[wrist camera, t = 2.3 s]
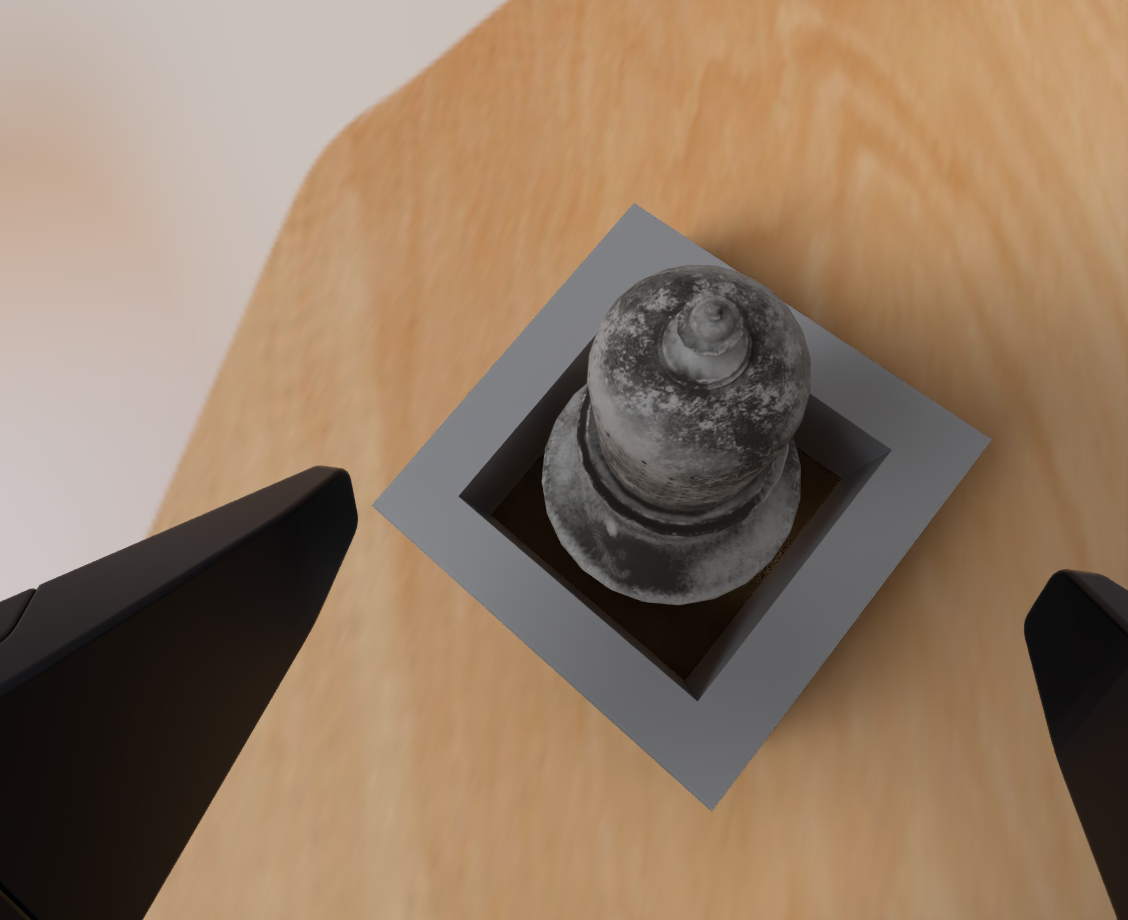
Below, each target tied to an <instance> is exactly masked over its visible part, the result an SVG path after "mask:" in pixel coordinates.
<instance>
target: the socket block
mask: <svg viewBox="0 0 1128 920" xmlns="http://www.w3.org/2000/svg"><path fill="white" fill-rule="evenodd" d="M685 265H711V266H719V267H723V268H726V269H730V270H733V271H736V270H735V269H733V268H732V267H730V266H729V265H727V264H726V263H724V262H723V261H721V260H720V259H718V258H717V257H715V256H713V255H712V254H710V253H709V252H707V251H706V250H704V249H703V248H701V247H700V246H698V245H697V244H695V243H694V242H692V241H691V240H689V239H688V238H686V237H685V236H683V235H682V234H680V233H679V232H677V231H676V230H674V229H673V228H671V227H670V226H668V225H667V224H665V223H664V222H662V221H661V220H659V219H657V218H656V217H654V216H653V215H651V214H650V213H648V212H647V211H645V210H644V209H642V208H641V207H639V206H638V205H636V204H635V203H634V204H633V205H632V206H631V207H630V208H629V209H628V210H627V212H626V213H625V214H624V215H623V216H622V217H621V219H620V220H619V221H618V222H617V223H616V224H615V225H614V227H613V228H612V229H611V230H610V231H609V232H608V234H607V235H606V236H605V237H604V238H603V239H602V240H601V242H600V243H599V244H598V245H597V246H596V247H595V249H594V250H593V251H592V252H591V253H590V254H589V255H588V257H587V258H586V259H585V260H584V261H583V262H582V264H581V265H580V266H579V267H578V268H577V269H576V270H575V272H574V273H573V274H572V275H571V276H570V277H569V279H568V280H567V281H566V282H565V283H564V284H563V285H562V287H561V288H560V289H559V290H558V291H557V292H556V294H555V295H554V296H553V297H552V298H551V299H550V300H549V302H548V303H547V304H546V305H545V306H544V307H543V309H542V310H541V311H540V312H539V313H538V314H537V315H536V317H535V318H534V319H533V320H532V321H531V322H530V324H529V325H528V326H527V327H526V328H525V329H524V330H523V332H522V333H521V334H520V335H519V336H518V337H517V339H516V340H515V341H514V342H513V343H512V344H511V345H510V347H509V348H508V349H507V350H506V351H505V352H504V354H503V355H502V356H501V357H500V358H499V359H498V360H497V362H496V363H495V364H494V365H493V366H492V367H491V369H490V370H489V371H488V372H487V373H486V374H485V375H484V377H483V378H482V379H481V380H480V381H479V382H478V384H477V385H476V386H475V387H474V388H473V389H472V390H471V392H470V393H469V394H468V395H467V396H466V397H465V399H464V400H463V401H462V402H461V403H460V404H459V405H458V407H457V408H456V409H455V410H454V411H453V412H452V414H451V415H450V416H449V417H448V418H447V419H446V420H445V422H444V423H443V424H442V425H441V426H440V427H439V429H438V430H437V431H436V432H435V433H434V434H433V435H432V437H431V438H430V439H429V440H428V441H427V442H426V443H425V445H424V446H423V447H422V448H421V449H420V450H419V452H418V453H417V454H416V455H415V456H414V457H413V458H412V460H411V461H410V462H409V463H408V464H407V465H406V467H405V468H404V469H403V470H402V471H401V472H400V473H399V475H398V476H397V477H396V478H395V479H394V480H393V482H392V483H391V484H390V485H389V486H388V487H387V488H386V490H385V491H384V492H383V493H382V494H381V495H380V497H379V498H378V499H377V500H376V501H375V502H374V503H373V505H372V506H373V507H374V508H375V509H376V510H377V511H378V512H380V513H381V514H382V515H383V516H384V517H385V518H386V519H387V520H388V521H390V522H391V523H392V524H393V525H394V526H395V527H396V528H397V529H398V530H400V531H401V532H402V533H403V534H404V535H405V536H406V537H407V538H408V539H410V540H411V541H412V542H413V543H414V544H415V545H416V546H417V547H418V548H420V549H421V550H422V551H423V552H424V553H425V554H426V555H427V556H428V557H430V558H431V559H432V560H433V561H434V562H435V563H436V564H437V565H438V566H440V567H441V568H442V569H443V570H444V571H445V572H446V573H447V574H448V575H450V576H451V577H452V578H453V579H454V580H455V581H456V582H457V583H458V584H460V585H461V586H462V587H463V588H464V589H465V590H466V591H467V592H468V593H470V594H471V595H472V596H473V597H474V598H475V599H476V600H477V601H478V602H479V603H481V604H482V605H483V606H484V607H485V608H486V609H487V610H488V611H489V612H491V613H492V614H493V615H494V616H495V617H496V618H497V619H498V620H499V621H501V622H502V623H503V624H504V625H505V626H506V627H507V628H508V629H509V630H511V631H512V632H513V633H514V634H515V635H516V636H517V637H518V638H519V639H521V640H522V641H523V642H524V643H525V644H526V645H527V646H528V647H529V648H531V649H532V650H533V651H534V652H535V653H536V654H537V655H538V656H539V657H541V658H542V659H543V660H544V661H545V662H546V663H547V664H548V665H549V666H551V667H552V668H553V669H554V670H555V671H556V672H557V673H558V674H559V675H561V676H562V677H563V678H564V679H565V680H566V681H567V682H568V683H569V684H571V685H572V686H573V687H574V688H575V689H576V690H577V691H578V692H579V693H581V694H582V695H583V696H584V697H585V698H586V699H587V700H588V701H589V702H591V703H592V704H593V705H594V706H595V707H596V708H597V709H598V710H599V711H601V712H602V713H603V714H604V715H605V716H606V717H607V718H608V719H609V720H611V721H612V722H613V723H614V724H615V725H616V726H617V727H618V728H619V729H621V730H622V731H623V732H624V733H625V734H626V735H627V736H628V737H629V738H631V739H632V740H633V741H634V742H635V743H636V744H637V745H638V746H639V747H641V748H642V749H643V750H644V751H645V752H646V753H647V754H648V755H649V756H651V757H652V758H653V759H654V760H655V761H656V762H657V763H658V764H659V765H661V766H662V767H663V768H664V769H665V770H666V771H667V772H668V773H669V774H671V775H672V776H673V777H674V778H675V779H676V780H677V781H678V782H679V783H681V784H682V785H683V786H684V787H685V788H686V789H687V790H688V791H689V792H691V793H692V794H693V795H694V796H695V797H696V798H697V799H698V800H699V801H701V802H702V803H703V804H704V805H705V806H706V807H707V808H708V809H709V810H711V811H712V810H713V809H714V808H715V806H716V805H717V804H718V802H719V801H720V800H721V798H722V797H723V796H724V794H725V793H726V792H727V790H728V789H729V788H730V786H731V785H732V784H733V783H734V781H735V780H736V779H737V777H738V776H739V775H740V773H741V772H742V771H743V769H744V768H745V767H746V765H747V764H748V763H749V761H750V760H751V759H752V757H753V756H754V755H755V753H756V752H757V751H758V749H759V748H760V747H761V745H762V744H763V743H764V741H765V740H766V739H767V737H768V736H769V735H770V733H771V732H772V731H773V729H774V728H775V727H776V725H777V724H778V723H779V721H780V720H781V719H782V717H783V716H784V715H785V713H786V712H787V711H788V709H789V708H790V707H791V705H792V704H793V703H794V702H795V700H796V699H797V698H798V696H799V695H800V694H801V692H802V691H803V690H804V688H805V687H806V686H807V684H808V683H809V682H810V680H811V679H812V678H813V676H814V675H815V674H816V672H817V671H818V670H819V668H820V667H821V666H822V664H823V663H824V662H825V660H826V659H827V658H828V656H829V655H830V654H831V652H832V651H833V650H834V648H835V647H836V646H837V644H838V643H839V642H840V640H841V639H842V638H843V636H844V635H845V634H846V632H847V631H848V630H849V628H850V627H851V626H852V624H853V623H854V622H855V621H856V619H857V618H858V617H859V615H860V614H861V613H862V611H863V610H864V609H865V607H866V606H867V605H868V603H869V602H870V601H871V599H872V598H873V597H874V595H875V594H876V593H877V591H878V590H879V589H880V587H881V586H882V585H883V583H884V582H885V581H886V579H887V578H888V577H889V575H890V574H891V573H892V571H893V570H894V569H895V567H896V566H897V565H898V563H899V562H900V561H901V559H902V558H903V557H904V555H905V554H906V553H907V551H908V550H909V549H910V547H911V546H912V545H913V543H914V542H915V541H916V540H917V538H918V537H919V536H920V534H921V533H922V532H923V530H924V529H925V528H926V526H927V525H928V524H929V522H930V521H931V520H932V518H933V517H934V516H935V514H936V513H937V512H938V510H939V509H940V508H941V506H942V505H943V504H944V502H945V501H946V500H947V498H948V497H949V496H950V494H951V493H952V492H953V490H954V489H955V488H956V486H957V485H958V484H959V482H960V481H961V480H962V478H963V477H964V476H965V474H966V473H967V472H968V470H969V469H970V468H971V466H972V465H973V464H974V462H975V461H976V460H977V459H978V457H979V456H980V455H981V453H982V452H983V451H984V449H985V448H986V447H987V445H988V444H989V443H990V441H991V440H992V439H991V438H989V437H988V436H986V435H984V434H983V433H981V432H980V431H978V430H977V429H975V428H974V427H972V426H971V425H969V424H968V423H966V422H965V421H963V420H962V419H960V418H959V417H957V416H956V415H954V414H953V413H951V412H950V411H948V410H947V409H945V408H944V407H942V406H941V405H939V404H938V403H936V402H935V401H933V400H932V399H930V398H928V397H927V396H925V395H924V394H922V393H921V392H919V391H918V390H916V389H915V388H913V387H912V386H910V385H909V384H907V383H906V382H904V381H903V380H901V379H900V378H898V377H897V376H895V375H894V374H892V373H891V372H889V371H888V370H886V369H885V368H883V367H882V366H880V365H879V364H877V363H875V362H874V361H872V360H871V359H869V358H868V357H866V356H865V355H863V354H862V353H860V352H859V351H857V350H856V349H854V348H853V347H851V346H850V345H848V344H847V343H845V342H844V341H842V340H841V339H839V338H838V337H836V336H835V335H833V334H832V333H830V332H829V331H827V330H826V329H824V328H823V327H821V326H819V325H818V324H816V323H815V322H813V321H812V320H810V319H809V318H807V317H806V316H804V315H803V314H801V313H800V312H798V311H797V310H795V309H794V308H792V307H791V306H789V305H788V304H786V303H785V302H784V303H785V304H786V305H787V306H788V307H789V309H790V310H791V312H792V314H793V315H794V317H795V319H796V320H797V322H798V323H799V325H800V327H801V328H802V330H803V333H804V336H805V340H806V343H807V346H808V350H809V353H810V357H811V388H810V395H809V398H808V402H807V405H806V409H805V412H804V416H803V419H802V422H801V424H800V425H799V427H798V428H797V430H796V432H795V433H794V435H793V439H794V442H795V446H796V447H798V448H799V449H800V450H802V451H803V452H805V453H806V454H807V455H809V456H810V457H811V458H813V459H814V460H816V461H817V462H818V463H820V464H821V465H823V466H824V467H825V468H827V469H828V470H830V471H831V472H832V473H834V474H835V475H837V476H838V477H839V478H841V480H840V482H839V483H838V484H837V485H836V487H835V488H834V489H833V491H832V492H831V493H830V494H829V496H828V497H827V498H826V500H825V501H824V502H823V503H822V505H821V506H820V507H819V509H818V510H817V511H816V512H815V514H814V515H813V516H812V518H811V519H810V520H809V521H808V523H807V524H806V525H805V527H804V528H803V529H802V530H801V532H800V533H799V534H798V536H797V537H796V538H795V539H794V541H793V542H792V543H791V545H790V546H789V547H788V548H787V550H786V551H785V552H784V554H783V555H782V556H781V557H780V559H779V560H778V561H777V563H776V564H775V565H774V566H773V568H772V569H771V570H770V572H769V573H768V574H767V575H766V577H765V578H764V579H763V581H762V582H761V583H760V584H759V586H758V587H757V588H756V590H755V591H754V592H753V593H752V595H751V596H750V597H749V599H748V600H747V601H746V602H745V604H744V605H743V606H742V608H741V609H740V610H739V611H738V613H737V614H736V615H735V617H734V618H733V619H732V620H731V622H730V623H729V624H728V626H727V627H726V628H725V629H724V631H723V632H722V633H721V635H720V636H719V637H718V638H717V640H716V641H715V642H714V644H713V645H712V646H711V647H710V649H709V650H708V651H707V653H706V654H705V655H704V656H703V658H702V659H701V660H700V662H699V663H698V664H697V665H696V667H695V668H694V669H693V671H692V672H691V673H690V675H689V676H688V677H687V678H686V680H683V679H682V678H681V677H680V676H679V675H678V674H676V673H675V672H674V671H673V670H672V669H671V668H669V667H668V666H667V665H666V664H665V663H664V662H662V661H661V660H660V659H659V658H658V657H656V656H655V655H654V654H653V653H652V652H651V651H649V650H648V649H647V648H646V647H645V646H644V645H642V644H641V643H640V642H639V641H638V640H637V639H635V638H634V637H633V636H632V635H631V634H630V633H628V632H627V631H626V630H625V629H624V628H623V627H621V626H620V625H619V624H618V623H617V622H616V621H614V620H613V619H612V618H611V617H610V616H608V615H607V614H606V613H605V612H604V611H603V610H601V609H600V608H599V607H598V606H597V605H596V604H594V603H593V602H592V601H591V600H590V599H589V598H587V597H586V596H585V595H584V594H583V593H582V592H580V591H579V590H578V589H577V588H576V587H575V586H573V585H572V584H571V583H570V582H569V581H567V580H566V579H565V578H564V577H563V576H562V575H560V574H559V573H558V572H557V571H556V570H555V569H553V568H552V567H551V566H550V565H549V564H548V563H546V562H545V561H544V560H543V559H542V558H541V557H539V556H538V555H537V554H536V553H535V552H534V551H532V550H531V549H530V548H529V547H528V546H526V545H525V544H524V543H523V542H522V541H521V540H519V539H518V538H517V537H516V536H515V535H514V534H512V533H511V532H510V531H509V530H508V529H507V528H505V527H504V526H503V525H502V524H501V523H500V522H498V521H497V520H496V519H495V518H494V517H493V516H491V515H492V513H493V512H494V511H495V510H496V509H497V508H498V506H499V505H500V504H501V503H502V502H503V500H504V499H505V498H506V497H507V496H508V494H509V493H510V492H511V491H512V490H513V489H514V487H515V486H516V485H517V484H518V483H519V481H520V480H521V479H522V478H523V477H524V475H525V474H526V473H527V472H528V471H529V470H530V468H531V467H532V466H533V465H534V464H535V462H536V461H537V460H538V459H539V458H540V456H541V455H542V454H543V453H544V452H545V448H546V445H547V443H548V440H549V437H550V435H551V432H552V429H553V427H554V424H555V421H556V419H557V418H558V416H559V415H560V414H561V412H562V411H563V409H564V408H565V407H566V405H567V404H568V402H569V401H570V400H571V398H572V397H573V395H574V394H575V393H576V392H577V391H579V390H580V389H581V388H582V387H583V386H585V385H586V384H587V376H588V362H589V353H590V350H591V348H592V345H593V342H594V339H595V336H596V334H597V331H598V328H599V326H600V323H601V321H602V320H603V318H604V317H605V315H606V314H607V313H608V311H609V310H610V308H611V307H612V305H613V304H614V303H615V301H616V300H617V299H618V298H619V297H620V296H621V295H623V294H624V293H625V292H626V291H627V290H628V289H630V288H631V287H632V286H633V285H634V284H636V283H637V282H639V281H641V280H643V279H645V278H647V277H649V276H651V275H653V274H655V273H657V272H659V271H661V270H666V269H671V268H675V267H680V266H685ZM737 272H738V271H737Z"/></svg>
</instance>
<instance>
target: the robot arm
mask: <svg viewBox="0 0 1128 920" xmlns="http://www.w3.org/2000/svg"><path fill="white" fill-rule="evenodd" d="M357 524H358V514H357V508H356V503H355V498H354V493H353V488H352V482H351V478H350V475H349V474H348V472H347V471H346V470H344V469H342V468H335V467H328V466H315V467H312V468H310V469H307V470H305V471H303V472H300V473H298V474H296V475H293V476H291V477H289V478H286V479H284V480H282V481H280V482H277V483H275V484H273V485H270V486H268V487H266V488H263V489H261V490H259V491H256V492H254V493H252V494H249V495H247V496H245V497H242V498H240V499H238V500H235V501H233V502H231V503H228V504H226V505H224V506H222V507H219V508H217V509H215V510H212V511H210V512H208V513H205V514H203V515H201V516H198V517H196V518H194V519H191V520H189V521H187V522H184V523H182V524H180V525H177V526H175V527H173V528H170V529H168V530H166V531H164V532H161V533H159V534H157V535H154V536H152V537H150V538H147V539H145V540H143V541H140V542H138V543H136V544H133V545H131V546H129V547H127V548H124V549H122V550H120V551H117V552H115V553H113V554H110V555H108V556H106V557H103V558H101V559H99V560H96V561H94V562H92V563H90V564H87V565H85V566H83V567H80V568H78V569H75V570H73V571H71V572H69V573H66V574H64V575H61V576H59V577H57V578H55V579H52V580H50V581H48V582H45V583H43V584H41V585H39V587H38V588H37V589H29V590H26V591H24V592H22V593H19V594H17V595H15V596H13V597H10V598H8V599H6V600H3V601H1V602H0V920H143V919H144V917H145V915H146V913H147V912H148V910H149V908H150V907H151V905H152V903H153V901H154V900H155V898H156V896H157V895H158V893H159V891H160V889H161V888H162V886H163V884H164V883H165V881H166V879H167V877H168V876H169V874H170V872H171V870H172V869H173V867H174V865H175V864H176V862H177V860H178V858H179V857H180V855H181V853H182V852H183V850H184V848H185V846H186V845H187V843H188V841H189V840H190V838H191V836H192V834H193V833H194V831H195V829H196V828H197V826H198V824H199V822H200V821H201V819H202V817H203V816H204V814H205V812H206V810H207V809H208V807H209V805H210V803H211V802H212V800H213V798H214V797H215V795H216V793H217V791H218V790H219V788H220V786H221V785H222V783H223V781H224V779H225V778H226V776H227V774H228V773H229V771H230V769H231V767H232V766H233V764H234V762H235V761H236V759H237V757H238V755H239V754H240V752H241V750H242V748H243V747H244V745H245V743H246V742H247V740H248V738H249V736H250V735H251V733H252V731H253V730H254V728H255V726H256V724H257V723H258V721H259V719H260V718H261V716H262V714H263V712H264V711H265V709H266V707H267V706H268V704H269V702H270V700H271V699H272V697H273V695H274V694H275V692H276V690H277V688H278V687H279V685H280V683H281V681H282V680H283V678H284V676H285V675H286V673H287V671H288V669H289V668H290V666H291V664H292V663H293V661H294V659H295V657H296V656H297V654H298V652H299V651H300V649H301V647H302V645H303V644H304V642H305V640H306V638H307V637H308V635H309V633H310V631H311V629H312V628H313V626H314V624H315V622H316V620H317V618H318V616H319V614H320V611H321V609H322V607H323V605H324V603H325V600H326V598H327V596H328V594H329V591H330V589H331V587H332V585H333V582H334V580H335V578H336V575H337V573H338V571H339V569H340V566H341V564H342V562H343V560H344V557H345V555H346V553H347V551H348V548H349V546H350V544H351V542H352V539H353V537H354V535H355V532H356V529H357ZM1024 635H1025V640H1026V644H1027V648H1028V652H1029V656H1030V660H1031V663H1032V667H1033V671H1034V675H1035V679H1036V683H1037V687H1038V691H1039V695H1040V699H1041V702H1042V706H1043V710H1044V714H1045V718H1046V722H1047V726H1048V730H1049V734H1050V737H1051V741H1052V744H1053V747H1054V751H1055V754H1056V757H1057V760H1058V763H1059V766H1060V769H1061V772H1062V774H1063V777H1064V780H1065V783H1066V785H1067V788H1068V790H1069V793H1070V796H1071V798H1072V801H1073V804H1074V806H1075V809H1076V812H1077V814H1078V817H1079V820H1080V822H1081V825H1082V827H1083V830H1084V833H1085V835H1086V838H1087V841H1088V843H1089V846H1090V849H1091V851H1092V854H1093V856H1094V859H1095V862H1096V864H1097V867H1098V870H1099V872H1100V875H1101V878H1102V880H1103V883H1104V886H1105V888H1106V891H1107V893H1108V896H1109V899H1110V901H1111V904H1112V907H1113V909H1114V912H1115V915H1116V917H1117V920H1128V591H1127V590H1126V589H1124V588H1123V587H1121V586H1120V585H1118V584H1116V583H1115V582H1113V581H1112V580H1110V579H1109V578H1107V577H1105V576H1103V575H1100V574H1097V573H1091V572H1084V571H1076V570H1069V569H1064V570H1059V571H1057V572H1056V573H1054V574H1053V575H1052V576H1051V578H1050V579H1049V581H1048V582H1047V584H1046V586H1045V587H1044V589H1043V590H1042V592H1041V594H1040V595H1039V597H1038V598H1037V600H1036V601H1035V603H1034V605H1033V606H1032V608H1031V609H1030V611H1029V613H1028V614H1027V617H1026V620H1025V624H1024Z"/></svg>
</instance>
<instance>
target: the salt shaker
mask: <svg viewBox="0 0 1128 920" xmlns="http://www.w3.org/2000/svg"><path fill="white" fill-rule="evenodd" d="M810 388H811V357H810V353H809V350H808V346H807V343H806V340H805V336H804V333H803V330H802V328H801V327H800V325H799V323H798V322H797V320H796V319H795V317H794V315H793V314H792V312H791V310H790V309H789V307H788V306H787V305H786V304H785V303H784V302H783V301H782V300H781V299H780V298H779V297H778V296H777V295H776V294H774V293H773V292H772V291H771V290H770V289H769V288H768V287H767V286H765V285H763V284H761V283H760V282H758V281H756V280H754V279H753V278H751V277H749V276H747V275H745V274H744V273H741V272H737V271H733V270H730V269H726V268H723V267H719V266H711V265H685V266H680V267H675V268H671V269H666V270H661V271H659V272H657V273H655V274H653V275H651V276H649V277H647V278H645V279H643V280H641V281H639V282H637V283H636V284H634V285H633V286H632V287H631V288H630V289H628V290H627V291H626V292H625V293H624V294H623V295H621V296H620V297H619V298H618V299H617V300H616V301H615V303H614V304H613V305H612V307H611V308H610V310H609V311H608V313H607V314H606V315H605V317H604V318H603V320H602V321H601V323H600V326H599V328H598V331H597V334H596V336H595V339H594V342H593V345H592V348H591V350H590V353H589V362H588V376H587V384H586V385H585V386H583V387H582V388H581V389H580V390H579V391H577V392H576V393H575V394H574V395H573V397H572V398H571V400H570V401H569V402H568V404H567V405H566V407H565V408H564V409H563V411H562V412H561V414H560V415H559V416H558V418H557V419H556V421H555V424H554V427H553V429H552V432H551V435H550V437H549V440H548V443H547V445H546V448H545V453H544V463H543V474H542V486H543V492H544V498H545V504H546V510H547V514H548V516H549V519H550V521H551V523H552V525H553V527H554V529H555V532H556V534H557V536H558V538H559V540H560V543H561V544H562V545H563V547H564V548H565V549H566V550H567V551H568V553H569V554H570V555H571V556H572V557H573V559H574V560H575V561H576V562H577V563H578V565H579V566H580V567H581V568H582V569H583V570H584V571H585V572H587V573H588V574H589V575H591V576H592V577H594V578H595V579H596V580H598V581H599V582H601V583H602V584H604V585H605V586H606V587H608V588H609V589H611V590H613V591H616V592H618V593H621V594H624V595H627V596H629V597H632V598H635V599H637V600H640V601H643V602H650V603H661V604H672V605H683V604H688V603H694V602H700V601H705V600H711V599H715V598H717V597H719V596H721V595H723V594H726V593H728V592H730V591H732V590H734V589H736V588H738V587H740V586H742V585H744V584H746V583H747V582H748V581H750V580H751V579H752V578H753V577H754V576H755V575H756V574H758V573H759V572H760V571H761V570H762V569H763V568H764V567H766V566H767V565H768V564H769V563H770V562H771V561H772V560H773V559H774V557H775V555H776V554H777V552H778V551H779V549H780V548H781V546H782V544H783V543H784V541H785V540H786V538H787V537H788V535H789V534H790V532H791V529H792V526H793V522H794V519H795V515H796V512H797V509H798V505H799V502H800V484H801V465H800V461H799V457H798V454H797V450H796V446H795V442H794V439H793V435H794V433H795V432H796V430H797V428H798V427H799V425H800V424H801V422H802V419H803V416H804V412H805V409H806V405H807V402H808V398H809V395H810Z"/></svg>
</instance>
